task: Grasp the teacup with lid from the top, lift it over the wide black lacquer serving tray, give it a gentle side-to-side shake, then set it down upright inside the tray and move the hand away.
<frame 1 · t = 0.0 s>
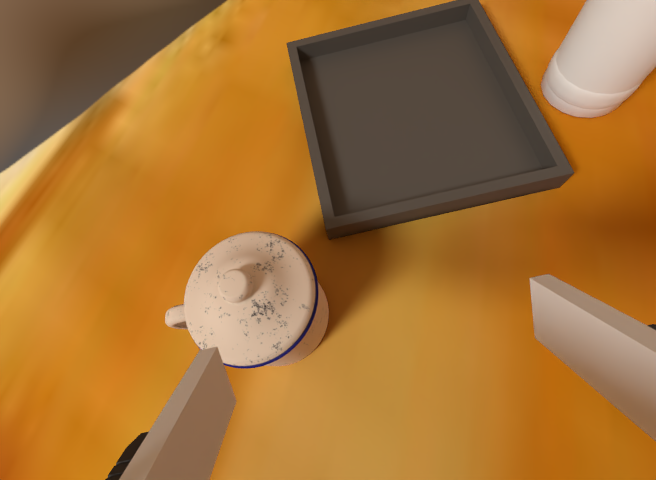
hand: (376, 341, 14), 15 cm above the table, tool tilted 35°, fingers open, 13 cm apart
teacup with lid: (266, 317, 31), on the table
serving tray: (407, 115, 37), on the table
bottle: (579, 90, 35), on the table
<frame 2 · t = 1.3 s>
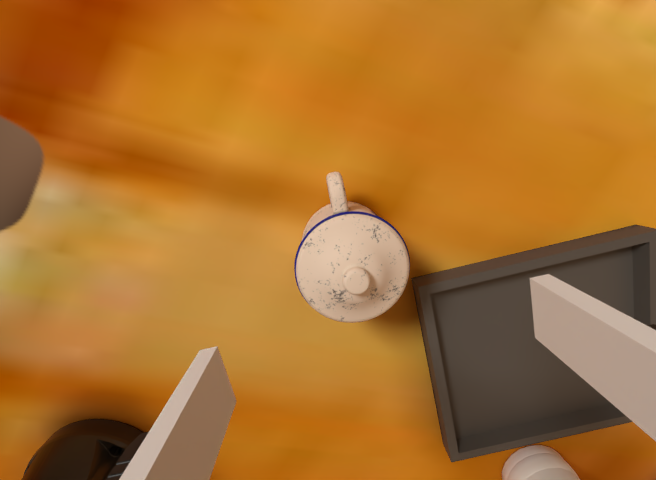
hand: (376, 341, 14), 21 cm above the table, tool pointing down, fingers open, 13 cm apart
teacup with lid: (341, 228, 35), on the table
serving tray: (532, 342, 38), on the table
bottle: (530, 467, 43), on the table
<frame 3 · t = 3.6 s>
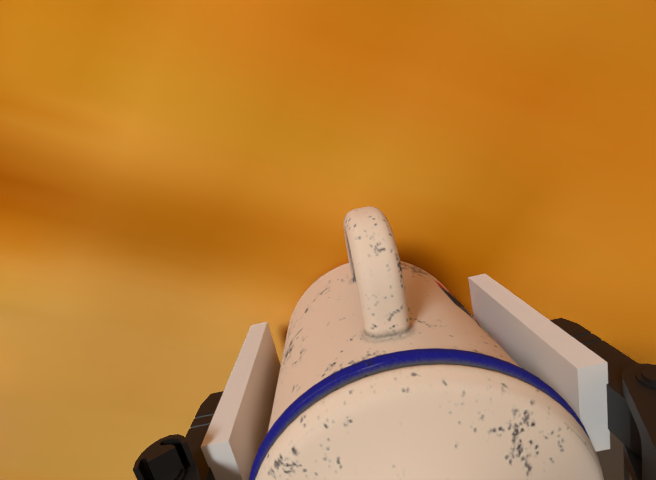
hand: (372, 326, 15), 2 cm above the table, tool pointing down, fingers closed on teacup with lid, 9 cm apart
teacup with lid: (368, 309, 17), on the table, touching gripper
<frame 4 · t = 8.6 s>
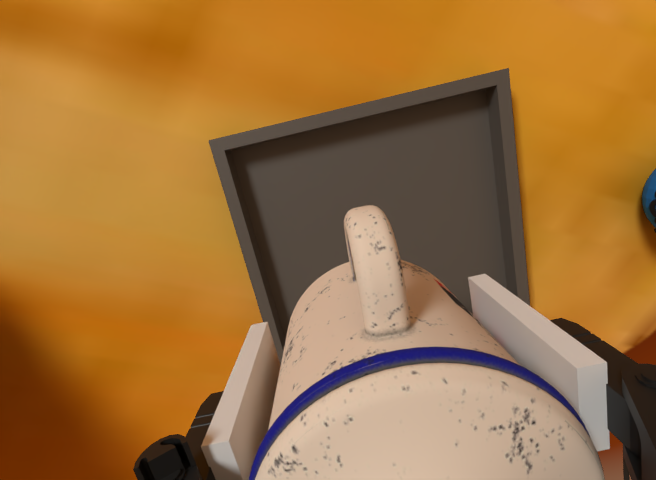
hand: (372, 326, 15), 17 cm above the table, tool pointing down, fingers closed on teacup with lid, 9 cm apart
teacup with lid: (368, 308, 17), point 15 cm above the table, touching gripper
serving tray: (377, 231, 32), on the table
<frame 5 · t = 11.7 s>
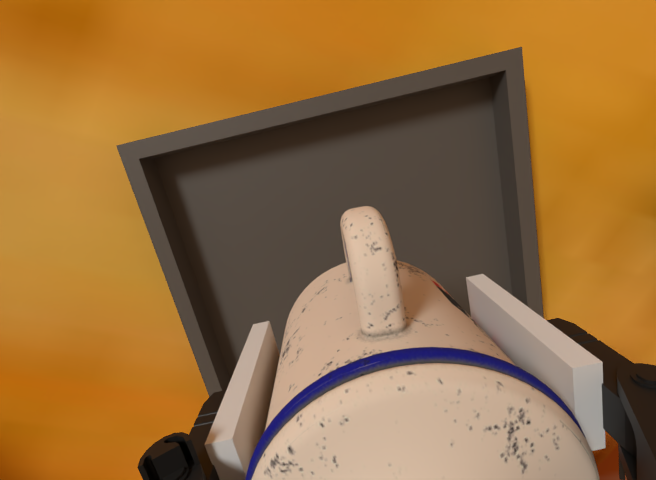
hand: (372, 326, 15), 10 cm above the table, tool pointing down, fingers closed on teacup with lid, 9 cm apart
teacup with lid: (366, 309, 17), point 8 cm above the table, touching gripper
serving tray: (350, 261, 25), on the table
when the fingers open (3 cm above the table, at t = 13.5 s): teacup with lid moves 5 cm, resting on serving tray.
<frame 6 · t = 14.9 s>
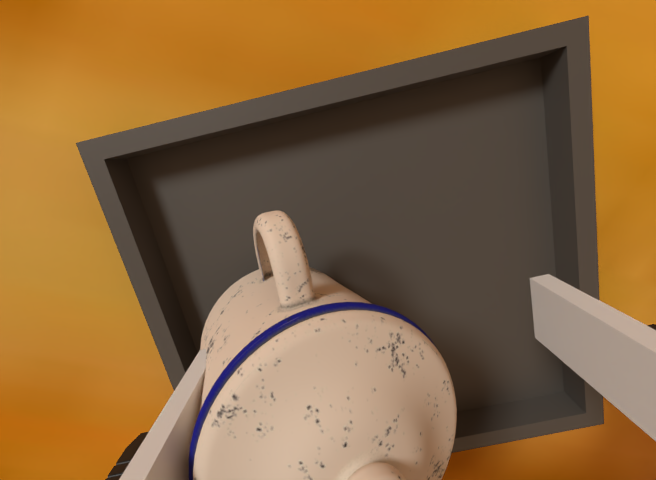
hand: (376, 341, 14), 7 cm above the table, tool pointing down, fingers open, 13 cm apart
teacup with lid: (276, 313, 19), point 2 cm above the table, touching gripper, serving tray
serving tray: (364, 282, 21), on the table
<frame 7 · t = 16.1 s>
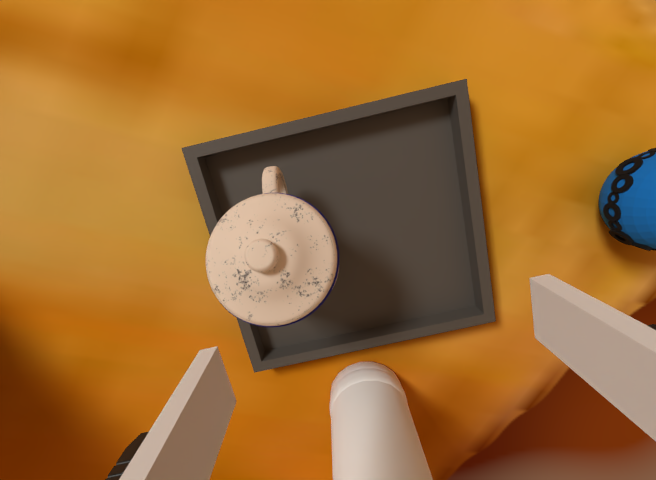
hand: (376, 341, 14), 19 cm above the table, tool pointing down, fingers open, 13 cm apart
teacup with lid: (291, 248, 32), point 1 cm above the table, touching serving tray
serving tray: (347, 234, 33), on the table
ornament: (617, 193, 33), on the table
bottle: (365, 390, 37), on the table
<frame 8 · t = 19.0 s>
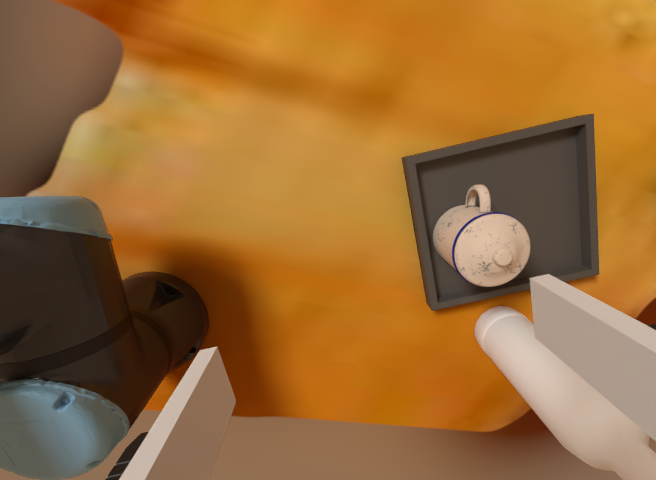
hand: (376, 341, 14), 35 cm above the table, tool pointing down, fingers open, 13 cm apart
teacup with lid: (461, 224, 48), resting on serving tray
serving tray: (498, 215, 48), on the table
bottle: (497, 327, 53), on the table
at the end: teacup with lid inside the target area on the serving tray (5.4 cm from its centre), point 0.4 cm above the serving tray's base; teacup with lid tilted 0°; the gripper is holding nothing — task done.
